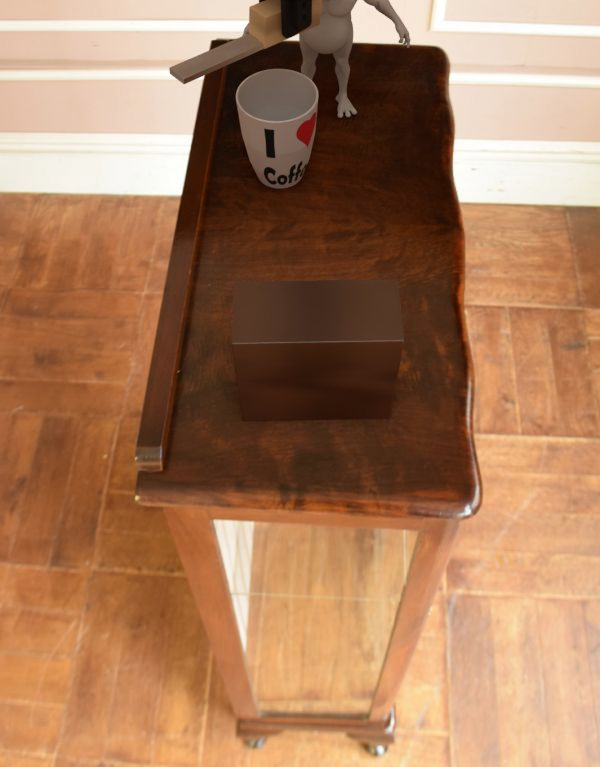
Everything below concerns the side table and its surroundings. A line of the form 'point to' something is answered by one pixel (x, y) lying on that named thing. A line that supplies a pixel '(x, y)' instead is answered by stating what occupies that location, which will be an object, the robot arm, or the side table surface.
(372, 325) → the dark rectangular block
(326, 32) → the figurine
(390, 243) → the side table surface
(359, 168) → the side table surface
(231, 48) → the knife
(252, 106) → the cup
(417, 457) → the side table surface
